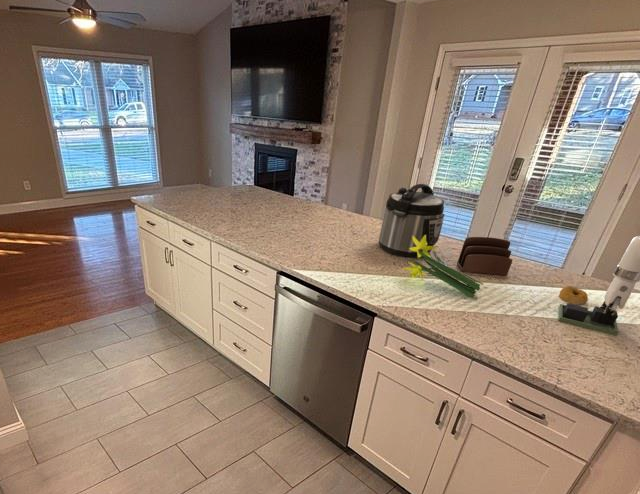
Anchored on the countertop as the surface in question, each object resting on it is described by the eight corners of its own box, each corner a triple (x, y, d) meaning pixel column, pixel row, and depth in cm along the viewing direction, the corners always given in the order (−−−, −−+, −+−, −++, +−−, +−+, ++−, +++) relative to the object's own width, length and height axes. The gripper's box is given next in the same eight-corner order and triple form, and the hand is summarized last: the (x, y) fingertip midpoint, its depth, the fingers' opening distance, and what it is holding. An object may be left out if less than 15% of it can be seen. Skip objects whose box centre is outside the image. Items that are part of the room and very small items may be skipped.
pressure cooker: (390, 260, 198) (406, 191, 180) (365, 241, 221) (377, 178, 203) (446, 258, 203) (466, 191, 186) (416, 239, 226) (432, 178, 209)
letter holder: (456, 263, 198) (466, 234, 190) (500, 268, 196) (511, 238, 188) (461, 271, 190) (471, 241, 182) (507, 276, 187) (519, 246, 180)
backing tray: (612, 321, 154) (615, 316, 153) (615, 337, 144) (618, 331, 143) (557, 308, 161) (560, 303, 160) (557, 322, 152) (560, 317, 150)
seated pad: (582, 317, 155) (587, 307, 152) (583, 322, 151) (588, 312, 149) (562, 312, 157) (567, 302, 155) (562, 317, 154) (567, 307, 152)
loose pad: (610, 320, 150) (616, 311, 148) (612, 326, 147) (618, 316, 145) (589, 315, 153) (595, 306, 151) (590, 321, 150) (596, 311, 147)
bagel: (560, 303, 165) (566, 292, 162) (555, 293, 174) (560, 282, 171) (589, 308, 162) (595, 297, 160) (582, 297, 171) (587, 287, 168)
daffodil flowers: (466, 306, 161) (389, 262, 173) (463, 311, 175) (392, 269, 186) (494, 269, 158) (414, 226, 169) (488, 277, 172) (415, 236, 183)
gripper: (645, 284, 132) (615, 333, 142) (638, 268, 144) (611, 314, 154) (617, 279, 135) (590, 326, 145) (612, 263, 147) (587, 308, 158)
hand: (601, 319), depth 150 cm, fingers closed on loose pad, 5 cm apart
